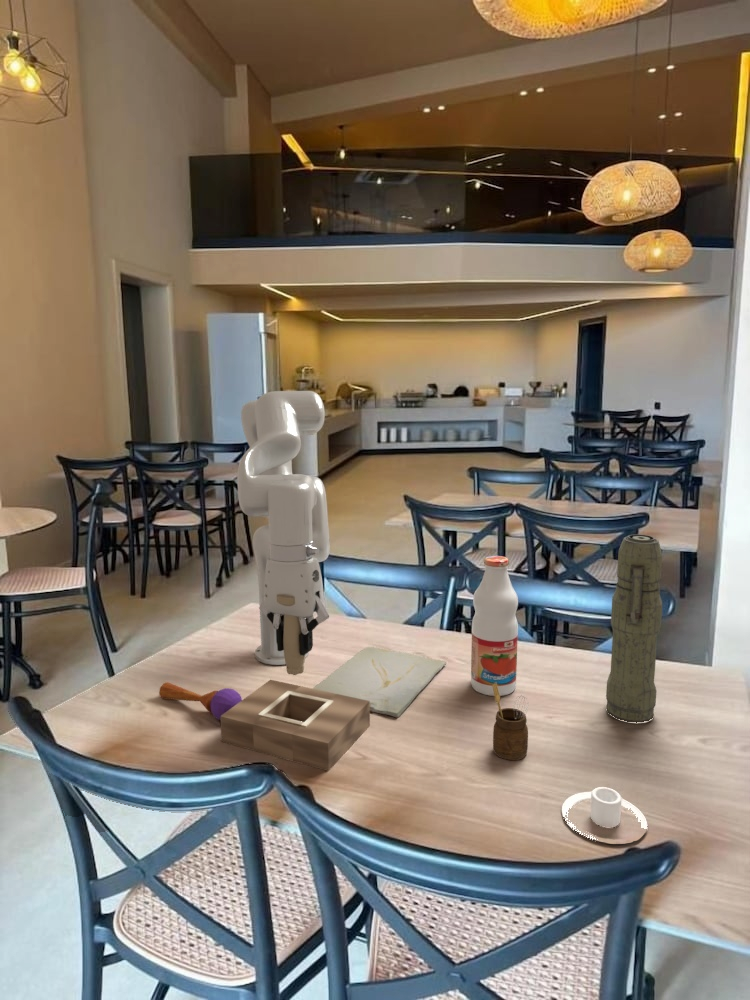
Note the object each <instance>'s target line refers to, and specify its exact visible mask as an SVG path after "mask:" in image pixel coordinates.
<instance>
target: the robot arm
mask: <svg viewBox="0 0 750 1000" xmlns="http://www.w3.org/2000/svg"><path fill="white" fill-rule="evenodd" d="M325 411H326V410H325V406H324V402H323V400H322V398H321V396H320V394H318V393H317V392H315V391H312V390H275V391H274V390H273V391H269V392H266V393H263V394H261V396H259V397H258V398H257V399H255V400H250V401H248V402H246V403H245V404H244V405H243V406H242V408H241V411H240V421H241V426H242V429H243V433H244V436H245V439H246V442H247V445H248V446H249V448H248V449H247V450H246V451H245V452H244V454H243V455H242V457H241V459H240V461H239V464H238V466H237V472H236V473H237V474H236V475H237V476H236V479H237V495H238V497H237V499H238V504H239V507H240V509H241V511H242V513H244V515H247V516H248V517H254V518H255V517H259V518H260V517H265V518H268V523H267V524H266V525H265V524H264V525H261V526H259V527H258V528H257V529H256V530H255V532H254V533H253V536H252V547H253V552H254V558H255V563H256V564H255V565H256V569H257V581H258V583H257V584H258V599H259V604H258V605H259V607H258V609H259V624H260V628H259V629H260V645H259V646H257V647H256V649H255V651H254V658H255V659H256V660H257V661H259V662H260V663H262V664H266V665H273V666H282V665H283V666H284V665H286V663H285V658H284V646H283V634H284V615H290V616H295V617H299V620H300V625H301V630H302V633H301V634H299V650H300V655H303V656H304V655H305V658H306V657H307V656H308V655H309V653H310V652H311V651H312V649H313V646H314V642H313V641H314V639H313V638H314V637H313V630H315V629H316V628H317V627H318V626H319V625H320V624H322V623H323V622H325V621H327V620H329V618H330V614H329V612H328V611H327V609H326V607H325V593H324V585H323V578H322V571H321V566H320V563H321V562H324V561H326V560H327V559H328V557H329V555H330V548H331V547H330V545H331V542H330V528H329V515H328V514H329V513H328V502H327V495H326V494H327V493H326V488H325V485H324V483H323V481H322V479H321V478H319V477H317V476H314V475H306V474H303V473H301V474H300V473H293V462H292V461H293V459H295V458H296V456H298V454H299V453H300V450H301V448H302V441H301V437H302V436H303V437H304V436H314V435H315V434H317V433H318V432H319V431H321V429H322V428H323V426H324V424H325V419H326V418H325V416H326V415H325V414H326V413H325ZM277 595H281V596H288V597H295V604H294V605H292V606H284V605H281V604H279V603H278V602H277ZM314 612H315V613H316V614H317V616H316V617H314Z"/></svg>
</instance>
